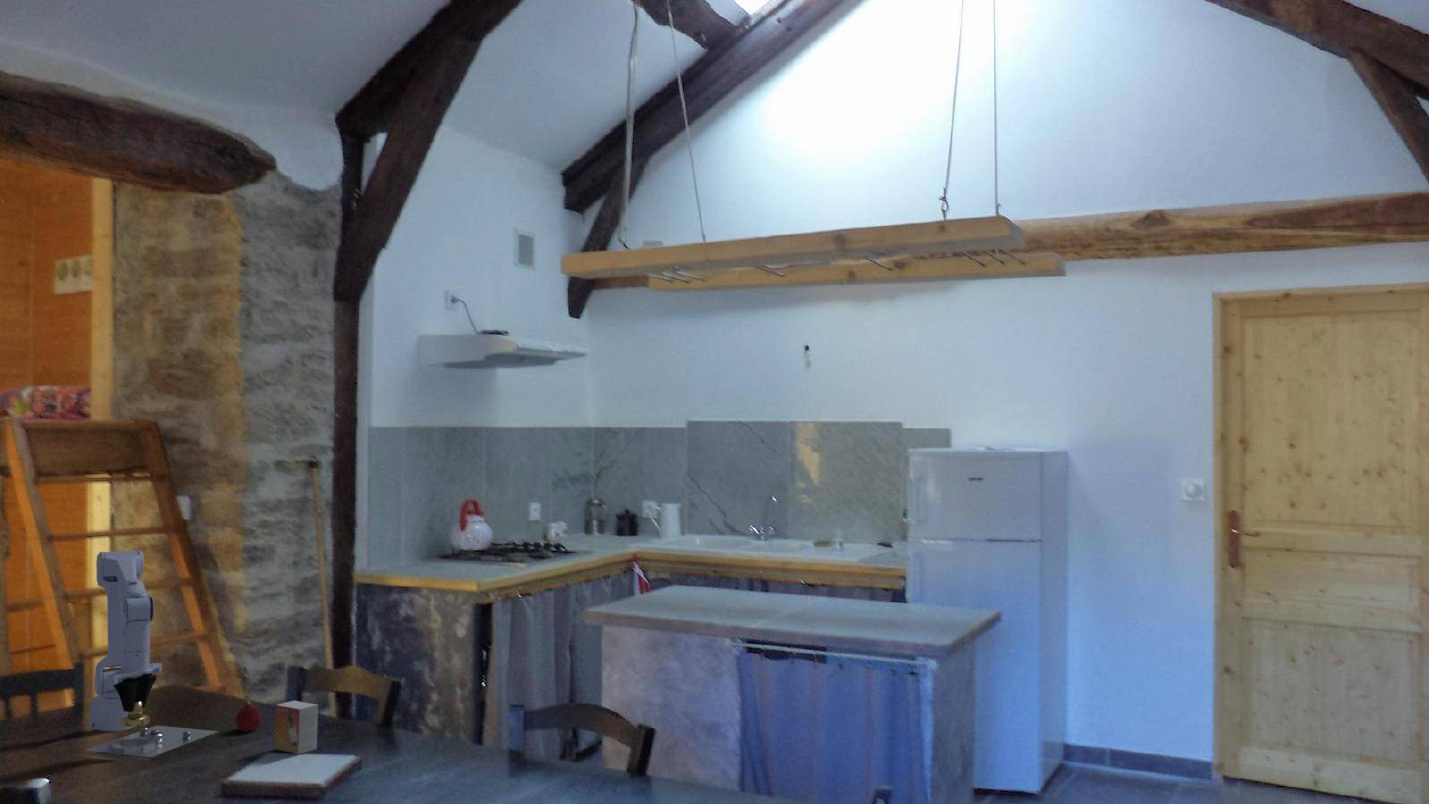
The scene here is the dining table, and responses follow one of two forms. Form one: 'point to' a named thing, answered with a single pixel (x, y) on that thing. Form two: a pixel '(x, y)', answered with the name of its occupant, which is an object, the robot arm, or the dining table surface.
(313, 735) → the small box
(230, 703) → the dining table surface
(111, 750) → the carrier plate
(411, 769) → the dining table surface
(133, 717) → the gear
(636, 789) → the dining table surface
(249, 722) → the onion
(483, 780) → the dining table surface
